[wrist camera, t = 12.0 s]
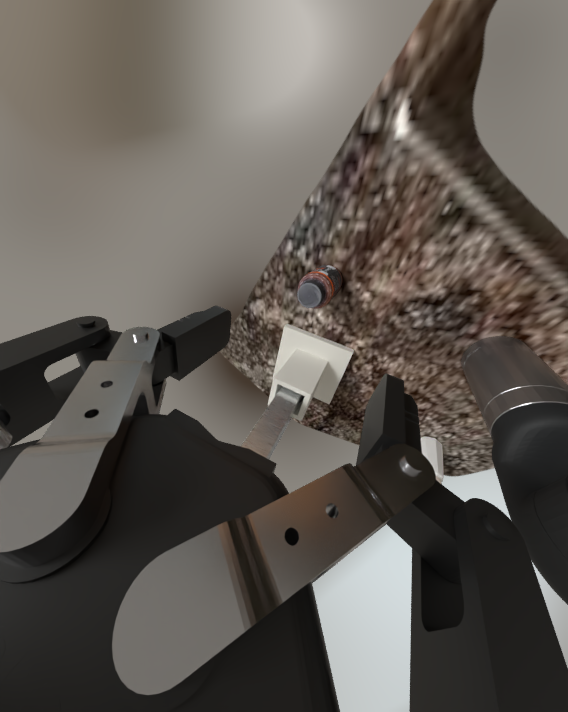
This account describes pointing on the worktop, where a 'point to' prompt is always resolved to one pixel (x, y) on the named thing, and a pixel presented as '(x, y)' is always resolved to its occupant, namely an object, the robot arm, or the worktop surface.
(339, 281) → the supplement bottle
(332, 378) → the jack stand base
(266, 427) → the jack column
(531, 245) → the worktop surface
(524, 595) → the robot arm
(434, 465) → the pepper shaker
